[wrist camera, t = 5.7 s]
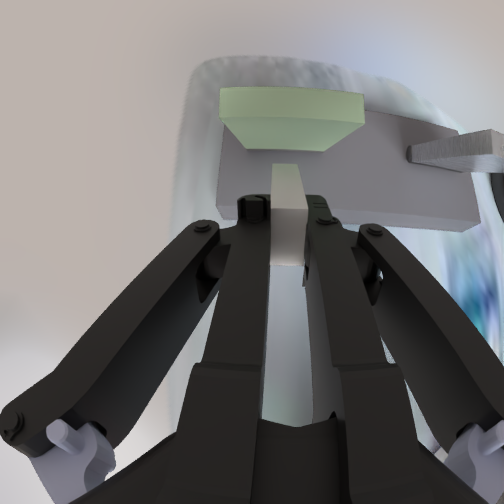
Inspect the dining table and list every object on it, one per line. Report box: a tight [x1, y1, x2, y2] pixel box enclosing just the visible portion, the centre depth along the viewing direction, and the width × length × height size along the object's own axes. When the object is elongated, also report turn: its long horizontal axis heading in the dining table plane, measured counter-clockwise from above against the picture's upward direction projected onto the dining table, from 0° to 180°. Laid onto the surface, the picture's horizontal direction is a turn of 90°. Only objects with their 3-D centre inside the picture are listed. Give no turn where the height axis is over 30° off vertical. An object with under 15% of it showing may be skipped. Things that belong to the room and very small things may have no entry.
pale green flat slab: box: [219, 87, 365, 153], centre depth 18 cm, size 2×7×13 cm, turn 86°
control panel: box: [216, 110, 481, 232], centre depth 26 cm, size 12×28×4 cm, turn 87°
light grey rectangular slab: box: [406, 129, 504, 173], centre depth 17 cm, size 2×7×13 cm, turn 86°
